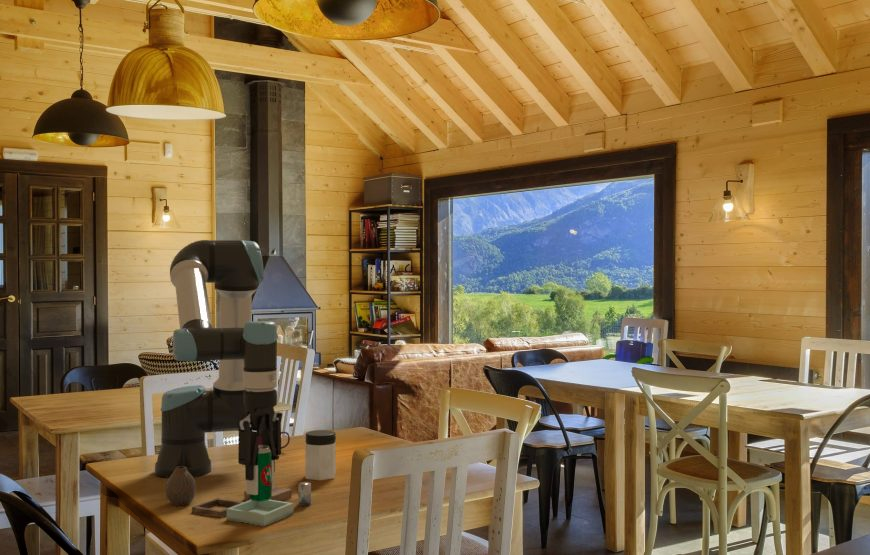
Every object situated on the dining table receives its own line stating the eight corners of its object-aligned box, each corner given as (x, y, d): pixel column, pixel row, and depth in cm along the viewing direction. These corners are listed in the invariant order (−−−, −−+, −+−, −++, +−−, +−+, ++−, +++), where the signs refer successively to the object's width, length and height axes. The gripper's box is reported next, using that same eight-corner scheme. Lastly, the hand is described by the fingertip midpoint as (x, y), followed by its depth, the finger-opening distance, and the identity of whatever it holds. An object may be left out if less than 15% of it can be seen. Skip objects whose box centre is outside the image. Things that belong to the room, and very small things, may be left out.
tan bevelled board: (244, 501, 208) (244, 491, 208) (263, 494, 214) (263, 484, 214) (273, 506, 204) (273, 496, 204) (291, 499, 210) (291, 489, 210)
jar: (312, 482, 225) (312, 437, 225) (299, 475, 232) (299, 432, 232) (342, 477, 230) (342, 433, 230) (328, 471, 237) (328, 428, 237)
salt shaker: (295, 505, 204) (295, 484, 203) (303, 502, 206) (303, 481, 206) (306, 506, 202) (306, 485, 202) (313, 503, 205) (313, 483, 205)
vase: (167, 508, 200) (167, 471, 200) (164, 501, 207) (164, 465, 206) (197, 505, 203) (197, 469, 203) (193, 498, 209) (193, 462, 209)
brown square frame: (192, 512, 197) (192, 507, 197) (217, 502, 205) (217, 497, 205) (221, 517, 193) (221, 512, 193) (246, 507, 201) (246, 502, 201)
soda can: (247, 497, 195) (247, 445, 195) (269, 495, 197) (269, 443, 197) (251, 503, 190) (251, 449, 190) (273, 500, 192) (273, 448, 192)
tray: (226, 519, 192) (226, 508, 192) (256, 508, 201) (256, 497, 201) (264, 526, 187) (264, 515, 187) (293, 514, 196) (293, 503, 196)
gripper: (247, 395, 184) (247, 502, 184) (297, 385, 200) (297, 483, 200) (220, 393, 187) (220, 498, 187) (271, 383, 203) (271, 480, 204)
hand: (260, 490), depth 194 cm, fingers closed on soda can, 5 cm apart
